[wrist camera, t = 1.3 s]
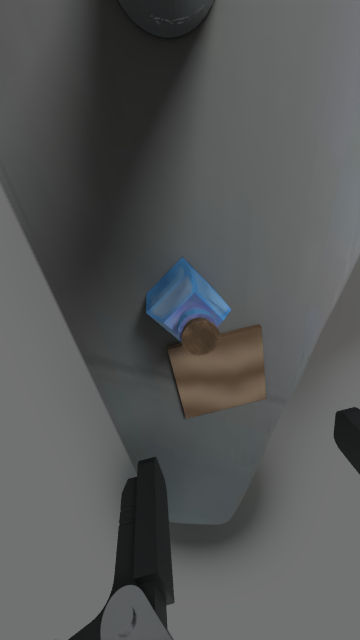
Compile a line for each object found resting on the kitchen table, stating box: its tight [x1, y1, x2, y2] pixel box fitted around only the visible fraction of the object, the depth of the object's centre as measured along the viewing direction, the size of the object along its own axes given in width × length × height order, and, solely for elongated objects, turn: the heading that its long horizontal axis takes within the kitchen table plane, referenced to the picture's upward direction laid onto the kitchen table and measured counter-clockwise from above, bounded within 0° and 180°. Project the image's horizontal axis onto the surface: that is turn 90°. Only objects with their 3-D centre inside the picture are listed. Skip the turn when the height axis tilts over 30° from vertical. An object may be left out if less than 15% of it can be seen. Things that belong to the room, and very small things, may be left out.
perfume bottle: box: [146, 257, 231, 356], centre depth 25 cm, size 6×6×12 cm
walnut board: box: [167, 324, 266, 418], centre depth 36 cm, size 13×13×1 cm
